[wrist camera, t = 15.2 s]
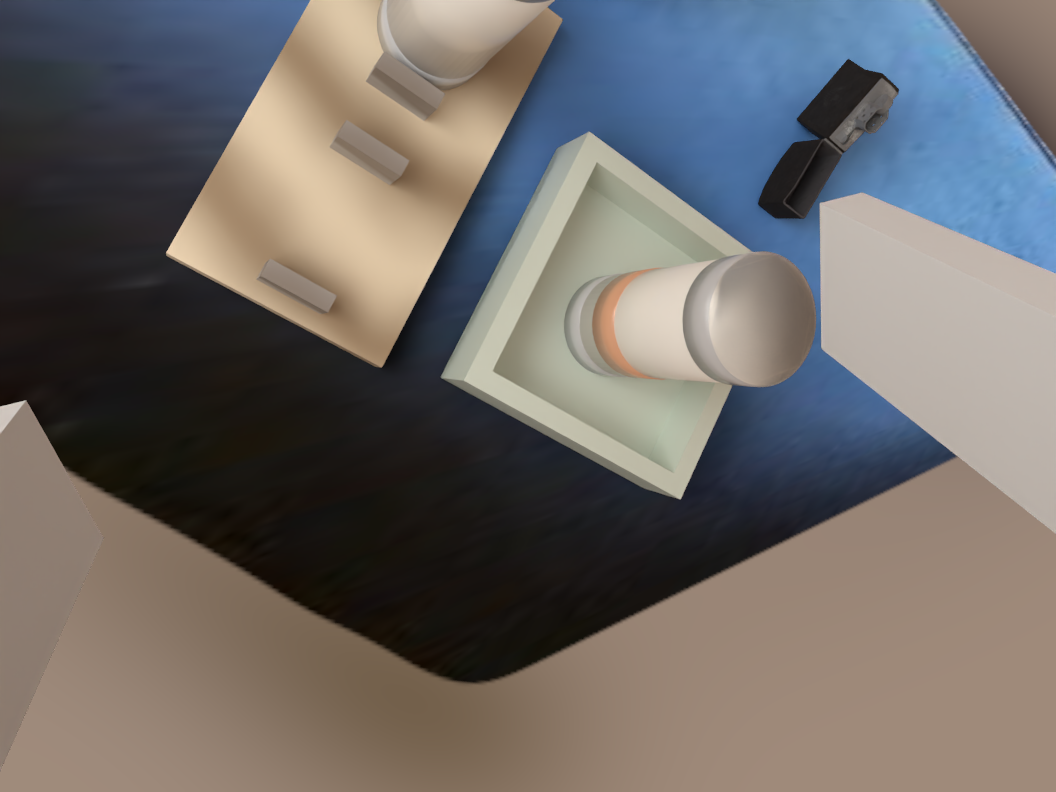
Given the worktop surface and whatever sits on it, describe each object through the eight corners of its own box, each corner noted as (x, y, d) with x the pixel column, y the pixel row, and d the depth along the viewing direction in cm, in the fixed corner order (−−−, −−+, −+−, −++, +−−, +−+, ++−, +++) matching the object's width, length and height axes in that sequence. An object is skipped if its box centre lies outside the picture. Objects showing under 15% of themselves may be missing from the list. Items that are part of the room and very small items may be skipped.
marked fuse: (591, 257, 41) (742, 225, 30) (666, 307, 43) (834, 294, 32) (547, 346, 40) (686, 346, 29) (625, 392, 42) (783, 410, 31)
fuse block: (375, -110, 37) (392, -150, 34) (552, 28, 40) (581, 3, 37) (166, 255, 34) (165, 247, 31) (376, 367, 38) (392, 369, 35)
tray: (557, 148, 41) (589, 131, 38) (740, 279, 46) (782, 274, 43) (440, 377, 39) (463, 380, 36) (643, 488, 44) (680, 499, 41)
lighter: (764, 206, 49) (799, 240, 45) (739, 185, 49) (771, 218, 44) (873, 82, 46) (923, 105, 41) (847, 57, 45) (895, 78, 40)
